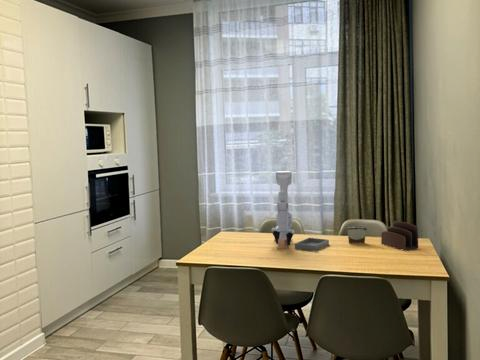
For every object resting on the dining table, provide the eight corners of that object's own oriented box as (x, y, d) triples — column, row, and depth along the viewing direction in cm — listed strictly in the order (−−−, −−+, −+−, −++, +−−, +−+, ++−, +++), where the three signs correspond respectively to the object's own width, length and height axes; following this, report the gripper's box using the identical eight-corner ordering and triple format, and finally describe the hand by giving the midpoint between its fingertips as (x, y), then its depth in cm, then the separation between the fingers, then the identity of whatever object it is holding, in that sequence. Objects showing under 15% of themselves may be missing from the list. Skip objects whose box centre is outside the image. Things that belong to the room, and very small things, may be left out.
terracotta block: (278, 247, 262) (278, 239, 262) (281, 246, 266) (281, 238, 266) (284, 248, 260) (284, 240, 259) (288, 247, 263) (288, 238, 263)
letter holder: (394, 242, 270) (394, 219, 269) (418, 249, 252) (418, 224, 251) (381, 244, 266) (381, 221, 265) (404, 251, 248) (405, 226, 247)
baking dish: (294, 248, 259) (294, 243, 259) (309, 242, 275) (309, 237, 274) (315, 251, 252) (315, 245, 251) (328, 244, 267) (328, 239, 267)
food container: (365, 241, 275) (365, 225, 274) (367, 243, 269) (367, 227, 268) (345, 241, 276) (345, 225, 275) (346, 243, 270) (346, 227, 269)
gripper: (268, 221, 263) (269, 244, 264) (290, 223, 254) (290, 247, 255) (274, 220, 268) (275, 242, 269) (296, 222, 260) (296, 244, 261)
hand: (283, 244), depth 263 cm, fingers open, 7 cm apart
